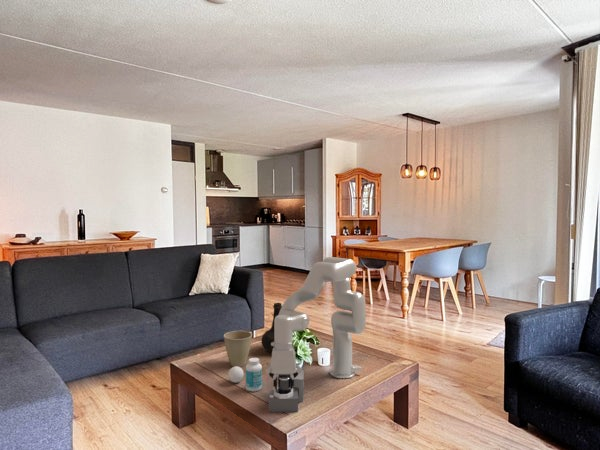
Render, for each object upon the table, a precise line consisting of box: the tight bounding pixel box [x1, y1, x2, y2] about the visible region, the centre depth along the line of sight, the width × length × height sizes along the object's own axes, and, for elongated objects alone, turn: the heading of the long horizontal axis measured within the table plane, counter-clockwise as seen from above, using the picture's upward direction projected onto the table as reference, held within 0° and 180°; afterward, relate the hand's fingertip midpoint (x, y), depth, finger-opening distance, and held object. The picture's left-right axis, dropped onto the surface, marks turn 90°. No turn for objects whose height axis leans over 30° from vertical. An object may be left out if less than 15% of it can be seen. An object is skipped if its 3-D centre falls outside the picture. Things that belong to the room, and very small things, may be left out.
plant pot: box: [223, 330, 253, 368], centre depth 206 cm, size 15×15×16 cm
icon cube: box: [292, 369, 305, 403], centre depth 171 cm, size 10×10×10 cm
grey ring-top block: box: [268, 386, 299, 413], centre depth 162 cm, size 12×8×7 cm, turn 91°
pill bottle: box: [245, 357, 263, 392], centre depth 178 cm, size 8×7×14 cm
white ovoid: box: [227, 366, 245, 383], centre depth 186 cm, size 10×7×7 cm
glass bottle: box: [260, 302, 283, 354], centre depth 225 cm, size 18×18×28 cm
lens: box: [277, 374, 291, 394], centre depth 161 cm, size 5×5×8 cm
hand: (283, 387), depth 161 cm, fingers open, 5 cm apart
